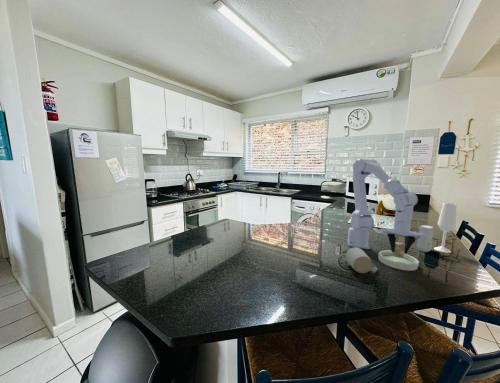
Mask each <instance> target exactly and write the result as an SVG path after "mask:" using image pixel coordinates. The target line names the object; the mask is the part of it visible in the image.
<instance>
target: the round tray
mask: <svg viewBox="0 0 500 383" xmlns="http://www.w3.org/2000/svg"><path fill="white" fill-rule="evenodd" d="M377 257H378V258H377V259H378V261H379V262H380V263H381V264H383V265H385V266H387V267H390V268H392V269H397V270H399V271H400V270H401V271H405V272H407V271H408V272H411V271H412V272H413V271H414V272H415V271H417V270H418V268H419V264H420V261H419V260H418V259H417V258H416V257H414V256H411V255H409V254H408V253H407V254H405V253H404V257H397V256H394V255H393V252H392V251H391V249H390V250H389V249H387V250H380V251H379V252H378V254H377Z"/></svg>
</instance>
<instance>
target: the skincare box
mask: <svg viewBox="0 0 500 383" xmlns="http://www.w3.org/2000/svg"><path fill="white" fill-rule="evenodd" d="M434 229H435V227H434V226H431V225H426V224H424V225H420V226H419V228H418V233H422V234H423V239H419V238H417V245H416V249H417V250H418V251H421V252H424V253H428V252H430V251H432V246H433V238H434Z"/></svg>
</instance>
